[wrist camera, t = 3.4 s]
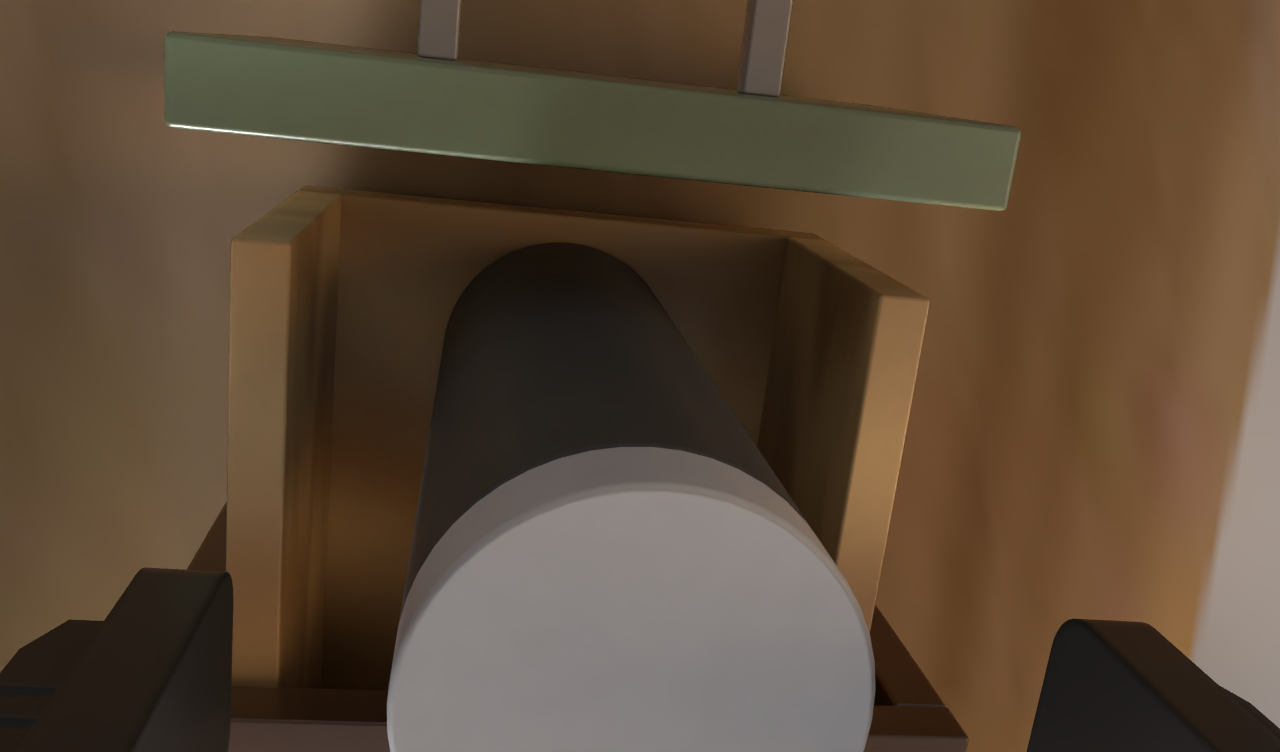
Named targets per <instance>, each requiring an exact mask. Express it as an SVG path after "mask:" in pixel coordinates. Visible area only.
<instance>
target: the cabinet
mask: <svg viewBox="0 0 1280 752" xmlns="http://www.w3.org/2000/svg"><path fill="white" fill-rule="evenodd" d="M226 527H227V502H226V503H225V505H224V507H223V508H222V510H221V512H220V513H219V515H218V517H217V519H216V520H215V522H214V524H213V525H212V527H211V529H210V531H209V532H208V534H207V536H206V537H205V539H204V541H203V543H202V544H201V546H200V548H199V549H198V551H197V553H196V554H195V556H194V558H193V560H192V561H191V563H190V565H189V566H188V568H187V570H198V571H217V572H226ZM870 638H871V644H872V649H873V655H874V661H875V689H876V690H875V698H874V707H873V716H872V722H871V726H870V730H869V734H868V737H867V741H866V745H865V748H864V751H863V752H966V750H967V745H968V736H967V735H966V733H965V732H964V730H963V729H962V728H961V726H960V725H959V723H958V722H957V720H956V719H955V717H954V716H953V715H952V713H951V712H950V710H949V709H948V708H946V707H945V704H944V703H943V701H942V700H941V698H940V697H939V695H938V694H937V692H936V691H935V690H934V688H933V687H932V685H931V684H930V682H929V681H928V679H927V678H926V677H925V675H924V674H923V672H922V671H921V669H920V668H919V667H918V665H917V664H916V662H915V661H914V659H913V658H912V656H911V655H910V654H909V652H908V651H907V649H906V648H905V646H904V645H903V643H902V642H901V641H900V639H899V638H898V636H897V635H896V633H895V632H894V630H893V629H892V628H891V626H890V625H889V623H888V622H887V620H886V619H885V618H884V616H883V615H882V613H881V612H880V610H879V609H878V607H877V606H876V605H875V607H874V613H873V618H872V624H871V629H870ZM387 698H388V691H376V690H342V689H309V688H275V687H241V686H231V721H230V738H229V747H228V752H390V746H389V740H388V735H387Z"/></svg>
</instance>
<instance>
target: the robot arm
mask: <svg viewBox="0 0 1280 752" xmlns="http://www.w3.org/2000/svg"><path fill="white" fill-rule="evenodd" d="M233 598H234V595H233V582H232V578H231V575H230V573H229V572H217V571H198V570H179V569H160V568H142V569H140V570H139V571H138V573H137V574H136V575H135V577H134V578H133V580H132V581H131V583H130V584H129V585H128V587H127V588H126V590H125V591H124V593H123V594H122V596H121V597H120V599H119V600H118V601H117V603H116V604H115V606H114V607H113V609H112V610H111V612H110V613H109V615H108V616H107V617H106V619H105V620H104V621H89V620H68V621H66V622H65V623H63V624H61V625H60V626H58V627H56V628H54V629H53V630H51V631H49V632H48V633H46V634H44V635H43V636H41V637H39V638H37V639H36V640H34V641H32V642H31V643H29V644H27V645H26V646H24V647H22V648H20V649H19V650H18V651H17V653H16V654H15V655H14V657H13V658H12V659H11V660H10V662H9V663H8V664H7V665H6V667H5V668H4V669H3V670H2V672H1V673H0V752H228V747H229V738H230V721H231V682H232V642H233ZM1027 752H1280V729H1279V728H1278V727H1277V726H1276V725H1275V724H1274V723H1272V722H1271V721H1270V720H1269V719H1268V718H1266V716H1264V715H1263V714H1262V713H1261V712H1260V711H1259V710H1257V709H1256V708H1255V707H1254V706H1253V705H1252V704H1251V703H1249V702H1247V701H1245V700H1244V699H1242V698H1240V697H1238V696H1237V695H1235V694H1233V693H1231V692H1230V691H1228V690H1226V689H1224V688H1223V687H1221V686H1219V685H1218V684H1217V683H1216V682H1214V681H1213V680H1212V679H1211V678H1210V677H1209V676H1208V675H1207V674H1205V673H1204V672H1203V671H1202V670H1201V669H1200V668H1199V667H1197V666H1196V665H1195V664H1194V663H1193V662H1192V661H1191V660H1190V659H1188V658H1187V657H1186V656H1185V655H1184V654H1183V653H1182V652H1181V651H1179V650H1178V649H1177V648H1176V647H1175V646H1174V645H1173V644H1171V643H1170V642H1169V641H1168V640H1167V639H1166V638H1165V637H1164V636H1162V635H1161V634H1160V633H1159V632H1158V631H1157V630H1156V629H1155V628H1153V627H1152V626H1150V625H1149V624H1146V623H1143V622H1127V621H1108V620H1089V619H1070V620H1068V621H1066V622H1065V623H1064V624H1063V625H1062V626H1061V627H1060V628H1059V630H1058V631H1057V633H1056V636H1055V638H1054V641H1053V644H1052V648H1051V652H1050V656H1049V661H1048V665H1047V669H1046V673H1045V677H1044V682H1043V686H1042V690H1041V694H1040V698H1039V703H1038V707H1037V711H1036V715H1035V719H1034V724H1033V728H1032V732H1031V736H1030V740H1029V745H1028V749H1027Z"/></svg>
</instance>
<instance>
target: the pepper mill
mask: <svg viewBox="0 0 1280 752" xmlns="http://www.w3.org/2000/svg"><path fill="white" fill-rule="evenodd" d="M875 690H876V689H875V661H874V655H873V649H872V644H871V638H870V633H869V630H868V627H867V624H866V621H865V618H864V615H863V612H862V609H861V607H860V605H859V603H858V601H857V599H856V597H855V595H854V593H853V591H852V589H851V588H850V586H849V584H848V582H847V580H846V579H845V578H844V576H843V575H842V573H841V572H840V570H839V569H838V567H837V566H836V564H835V563H834V561H833V560H832V558H831V557H830V555H829V554H828V552H827V551H826V549H825V548H824V546H823V545H822V543H821V542H820V540H819V539H818V538H817V536H816V534H815V533H814V531H813V530H812V528H811V527H810V525H809V524H808V522H807V521H806V519H805V518H804V516H803V515H802V513H801V512H800V510H799V509H798V507H797V506H796V504H795V503H794V502H793V500H792V499H791V497H790V496H789V494H788V493H787V491H786V490H785V488H784V487H783V485H782V484H781V482H780V481H779V479H778V478H777V476H776V475H775V473H774V472H773V470H772V469H771V467H770V466H769V464H768V463H767V461H766V460H765V458H764V457H763V455H762V454H761V452H760V451H759V449H758V448H757V446H756V445H755V443H754V442H753V440H752V439H751V437H750V436H749V434H748V433H747V431H746V430H745V428H744V427H743V426H742V424H741V423H740V421H739V420H738V418H737V417H736V415H735V414H734V412H733V411H732V409H731V408H730V406H729V405H728V403H727V402H726V400H725V399H724V397H723V396H722V394H721V393H720V391H719V390H718V388H717V387H716V385H715V384H714V382H713V381H712V379H711V378H710V376H709V375H708V373H707V372H706V370H705V369H704V367H703V366H702V364H701V363H700V361H699V360H698V358H697V357H696V355H695V354H694V352H693V351H692V350H691V348H690V347H689V345H688V344H687V342H686V341H685V339H684V338H683V336H682V335H681V333H680V332H679V330H678V329H677V327H676V326H675V324H674V323H673V321H672V320H671V318H670V317H669V315H668V314H667V312H666V311H665V309H664V308H663V306H662V305H661V303H660V302H659V300H658V299H657V297H656V296H655V294H654V293H653V292H652V290H651V289H650V287H649V286H648V285H647V283H646V282H645V281H644V280H643V279H642V278H641V277H640V276H639V275H638V274H637V273H636V272H635V271H634V270H633V269H631V268H630V267H629V266H628V265H626V264H625V263H624V262H622V261H620V260H619V259H617V258H615V257H614V256H612V255H610V254H608V253H605V252H603V251H601V250H599V249H595V248H592V247H588V246H585V245H579V244H573V243H544V244H537V245H533V246H529V247H524V248H521V249H519V250H516V251H514V252H511V253H509V254H507V255H505V256H503V257H501V258H499V259H498V260H496V261H494V262H493V263H492V264H490V265H489V266H487V267H486V268H485V269H483V270H482V271H481V272H480V273H479V274H478V275H477V276H476V277H475V278H474V279H473V280H472V281H471V282H470V283H469V285H468V286H467V287H466V288H465V290H464V291H463V292H462V294H461V296H460V297H459V299H458V301H457V302H456V304H455V306H454V308H453V311H452V313H451V315H450V317H449V321H448V324H447V328H446V331H445V337H444V343H443V350H442V356H441V362H440V368H439V375H438V381H437V387H436V393H435V400H434V406H433V412H432V418H431V425H430V431H429V437H428V443H427V450H426V456H425V462H424V469H423V475H422V481H421V487H420V494H419V500H418V506H417V512H416V519H415V525H414V531H413V537H412V544H411V550H410V556H409V563H408V569H407V575H406V581H405V588H404V594H403V600H402V606H401V613H400V619H399V625H398V631H397V638H396V644H395V650H394V656H393V663H392V669H391V675H390V683H389V690H388V698H387V735H388V740H389V746H390V752H863V751H864V748H865V745H866V741H867V737H868V734H869V730H870V726H871V722H872V716H873V707H874V698H875Z"/></svg>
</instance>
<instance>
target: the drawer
mask: <svg viewBox="0 0 1280 752" xmlns="http://www.w3.org/2000/svg"><path fill="white" fill-rule="evenodd" d="M792 5H793V0H748V3H747V10H746V18H745V26H744V34H743V41H742V49H741V57H740V64H739V72H738V80H737V88H736V90H732V89H723V88H714V87H706V86H697V85H688V84H679V83H670V82H661V81H653V80H644V79H635V78H626V77H617V76H609V75H600V74H591V73H582V72H573V71H565V70H556V69H547V68H538V67H529V66H521V65H512V64H503V63H494V62H485V61H476V60H468V59H459V58H458V57H459V42H460V27H461V12H462V0H420V9H419V26H418V44H417V54H415V53H406V52H397V51H388V50H380V49H371V48H362V47H353V46H344V45H336V44H327V43H318V42H309V41H300V40H291V39H283V38H274V37H260V36H242V35H225V34H207V33H190V32H169V33H167V34H166V36H165V122H166V124H167V126H169V127H171V128H178V129H188V130H198V131H208V132H218V133H228V134H238V135H248V136H258V137H268V138H278V139H288V140H298V141H308V142H318V143H328V144H338V145H348V146H358V147H367V148H377V149H387V150H397V151H407V152H417V153H427V154H437V155H447V156H457V157H467V158H477V159H487V160H497V161H507V162H517V163H527V164H537V165H547V166H557V167H566V168H576V169H586V170H596V171H606V172H616V173H626V174H636V175H646V176H656V177H666V178H676V179H686V180H696V181H706V182H716V183H726V184H736V185H746V186H755V187H765V188H775V189H785V190H795V191H805V192H815V193H825V194H835V195H845V196H855V197H865V198H875V199H885V200H895V201H905V202H915V203H925V204H935V205H945V206H954V207H964V208H974V209H984V210H994V211H1002V210H1005V209H1006V207H1007V205H1008V200H1009V195H1010V190H1011V184H1012V179H1013V174H1014V169H1015V164H1016V159H1017V154H1018V149H1019V144H1020V138H1021V129H1019V128H1018V127H1015V126H1008V125H1001V124H994V123H988V122H981V121H974V120H967V119H960V118H953V117H947V116H940V115H933V114H926V113H919V112H912V111H906V110H899V109H892V108H885V107H878V106H871V105H864V104H855V103H846V102H838V101H829V100H820V99H811V98H802V97H794V96H785V95H780V91H781V84H782V77H783V70H784V63H785V55H786V48H787V41H788V34H789V27H790V20H791V12H792ZM544 243H573V244H579V245H585V246H588V247H592V248H595V249H599V250H601V251H603V252H605V253H608V254H610V255H612V256H614V257H615V258H617V259H619V260H620V261H622V262H624V263H625V264H626V265H628V266H629V267H630V268H631V269H633V270H634V271H635V272H636V273H637V274H638V275H639V276H640V277H641V278H642V279H643V280H644V281H645V282H646V283H647V285H648V286H649V287H650V289H651V290H652V292H653V293H654V294H655V296H656V297H657V299H658V300H659V302H660V303H661V305H662V306H663V308H664V309H665V311H666V312H667V314H668V315H669V317H670V318H671V320H672V321H673V323H674V324H675V326H676V327H677V329H678V330H679V332H680V333H681V335H682V336H683V338H684V339H685V341H686V342H687V344H688V345H689V347H690V348H691V350H692V351H693V352H694V354H695V355H696V357H697V358H698V360H699V361H700V363H701V364H702V366H703V367H704V369H705V370H706V372H707V373H708V375H709V376H710V378H711V379H712V381H713V382H714V384H715V385H716V387H717V388H718V390H719V391H720V393H721V394H722V396H723V397H724V399H725V400H726V402H727V403H728V405H729V406H730V408H731V409H732V411H733V412H734V414H735V415H736V417H737V418H738V420H739V421H740V423H741V424H742V426H743V427H744V428H745V430H746V431H747V433H748V434H749V436H750V437H751V439H752V440H753V442H754V443H755V445H756V446H757V448H758V449H759V451H760V452H761V454H762V455H763V457H764V458H765V460H766V461H767V463H768V464H769V466H770V467H771V469H772V470H773V472H774V473H775V475H776V476H777V478H778V479H779V481H780V482H781V484H782V485H783V487H784V488H785V490H786V491H787V493H788V494H789V496H790V497H791V499H792V500H793V502H794V503H795V504H796V506H797V507H798V509H799V510H800V512H801V513H802V515H803V516H804V518H805V519H806V521H807V522H808V524H809V525H810V527H811V528H812V530H813V531H814V533H815V534H816V536H817V538H818V539H819V540H820V542H821V543H822V545H823V546H824V548H825V549H826V551H827V552H828V554H829V555H830V557H831V558H832V560H833V561H834V563H835V564H836V566H837V567H838V569H839V570H840V572H841V573H842V575H843V576H844V578H845V579H846V580H847V582H848V584H849V586H850V588H851V589H852V591H853V593H854V595H855V597H856V599H857V601H858V603H859V605H860V607H861V609H862V612H863V615H864V618H865V621H866V624H867V627H868V630H869V633H870V629H871V624H872V618H873V613H874V607H875V602H876V596H877V591H878V585H879V580H880V574H881V569H882V563H883V558H884V552H885V547H886V541H887V536H888V530H889V525H890V519H891V514H892V508H893V503H894V497H895V492H896V486H897V481H898V475H899V470H900V464H901V459H902V453H903V448H904V442H905V437H906V431H907V426H908V420H909V415H910V409H911V404H912V398H913V393H914V387H915V382H916V376H917V371H918V365H919V360H920V354H921V349H922V343H923V338H924V332H925V327H926V321H927V316H928V310H929V305H930V300H929V299H928V298H926V297H924V296H922V295H921V294H919V293H917V292H915V291H914V290H912V289H910V288H908V287H907V286H905V285H903V284H901V283H900V282H898V281H896V280H894V279H892V278H891V277H889V276H887V275H885V274H884V273H882V272H880V271H878V270H877V269H875V268H873V267H871V266H870V265H868V264H866V263H864V262H863V261H861V260H859V259H857V258H856V257H854V256H852V255H850V254H849V253H847V252H845V251H843V250H842V249H840V248H838V247H836V246H834V245H833V244H831V243H829V242H827V241H826V240H824V239H822V238H820V237H819V236H817V235H815V234H812V233H801V232H791V231H780V230H770V229H759V228H749V227H738V226H728V225H717V224H706V223H696V222H685V221H675V220H664V219H654V218H643V217H633V216H622V215H612V214H601V213H590V212H580V211H569V210H559V209H548V208H538V207H527V206H517V205H506V204H495V203H485V202H474V201H464V200H453V199H443V198H432V197H422V196H411V195H401V194H390V193H379V192H369V191H358V190H348V189H337V188H327V187H316V186H304V187H303V188H301V189H300V190H299V191H297V192H295V193H294V194H293V195H291V196H290V197H289V198H287V199H286V200H284V201H283V202H282V203H280V204H279V205H278V206H276V207H275V208H274V209H272V210H271V211H269V212H268V213H267V214H265V215H264V216H263V217H261V218H260V219H258V220H257V221H256V222H254V223H253V224H252V225H250V226H249V227H248V228H246V229H245V230H243V231H242V232H241V233H239V234H238V235H237V236H235V237H234V238H233V239H232V240H231V275H230V338H229V401H228V464H227V527H226V572H229V573H230V575H231V578H232V582H233V595H234V598H233V642H232V682H231V686H241V687H275V688H309V689H342V690H376V691H388V690H389V683H390V675H391V669H392V663H393V656H394V650H395V644H396V638H397V631H398V625H399V619H400V613H401V606H402V600H403V594H404V588H405V581H406V575H407V569H408V563H409V556H410V550H411V544H412V537H413V531H414V525H415V519H416V512H417V506H418V500H419V494H420V487H421V481H422V475H423V469H424V462H425V456H426V450H427V443H428V437H429V431H430V425H431V418H432V412H433V406H434V400H435V393H436V387H437V381H438V375H439V368H440V362H441V356H442V350H443V343H444V337H445V331H446V328H447V324H448V321H449V317H450V315H451V313H452V311H453V308H454V306H455V304H456V302H457V301H458V299H459V297H460V296H461V294H462V292H463V291H464V290H465V288H466V287H467V286H468V285H469V283H470V282H471V281H472V280H473V279H474V278H475V277H476V276H477V275H478V274H479V273H480V272H481V271H482V270H483V269H485V268H486V267H487V266H489V265H490V264H492V263H493V262H494V261H496V260H498V259H499V258H501V257H503V256H505V255H507V254H509V253H511V252H514V251H516V250H519V249H521V248H524V247H529V246H533V245H537V244H544Z"/></svg>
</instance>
